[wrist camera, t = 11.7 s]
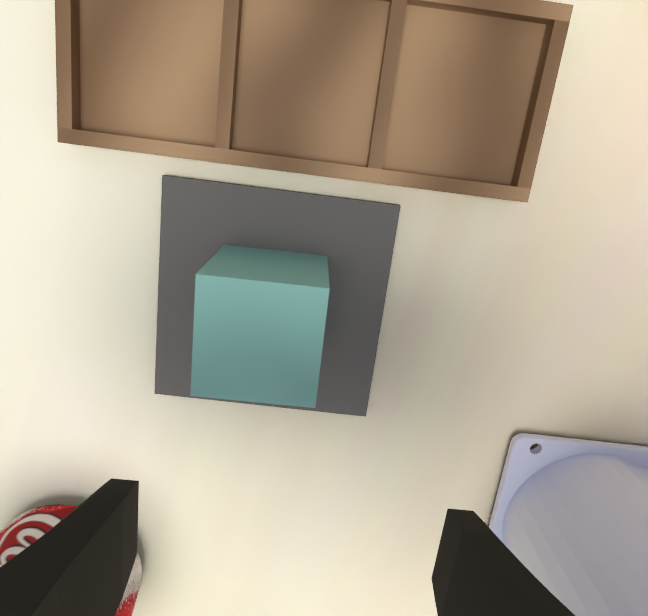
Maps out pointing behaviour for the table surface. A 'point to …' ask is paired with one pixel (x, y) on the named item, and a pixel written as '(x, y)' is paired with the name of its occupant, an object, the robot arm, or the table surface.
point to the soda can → (41, 521)
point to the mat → (283, 235)
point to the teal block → (259, 326)
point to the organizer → (318, 85)
